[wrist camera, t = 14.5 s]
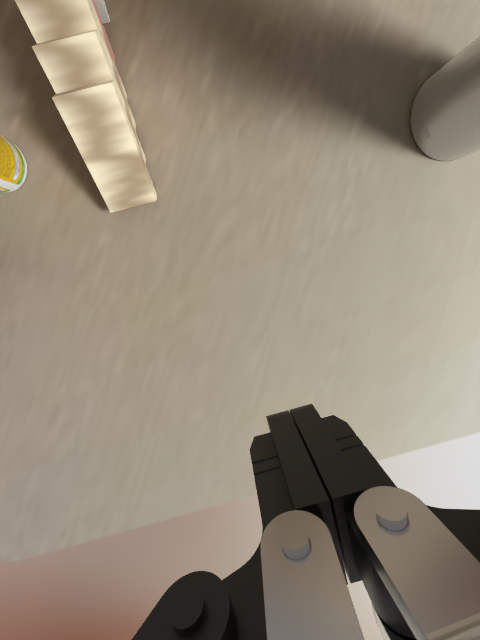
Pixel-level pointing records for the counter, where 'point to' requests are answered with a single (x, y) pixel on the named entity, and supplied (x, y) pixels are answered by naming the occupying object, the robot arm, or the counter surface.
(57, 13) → the domino
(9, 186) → the supplement bottle
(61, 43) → the domino
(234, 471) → the counter surface
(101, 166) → the domino
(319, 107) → the counter surface
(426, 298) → the counter surface
